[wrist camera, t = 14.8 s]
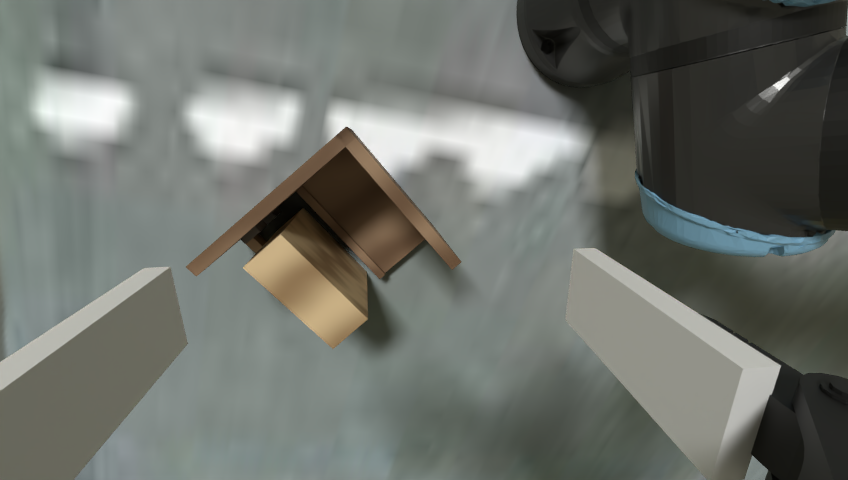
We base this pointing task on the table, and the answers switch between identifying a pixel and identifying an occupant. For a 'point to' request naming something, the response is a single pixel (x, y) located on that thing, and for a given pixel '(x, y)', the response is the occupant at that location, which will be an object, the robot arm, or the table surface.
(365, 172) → the cabinet
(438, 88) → the table surface
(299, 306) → the tan block
